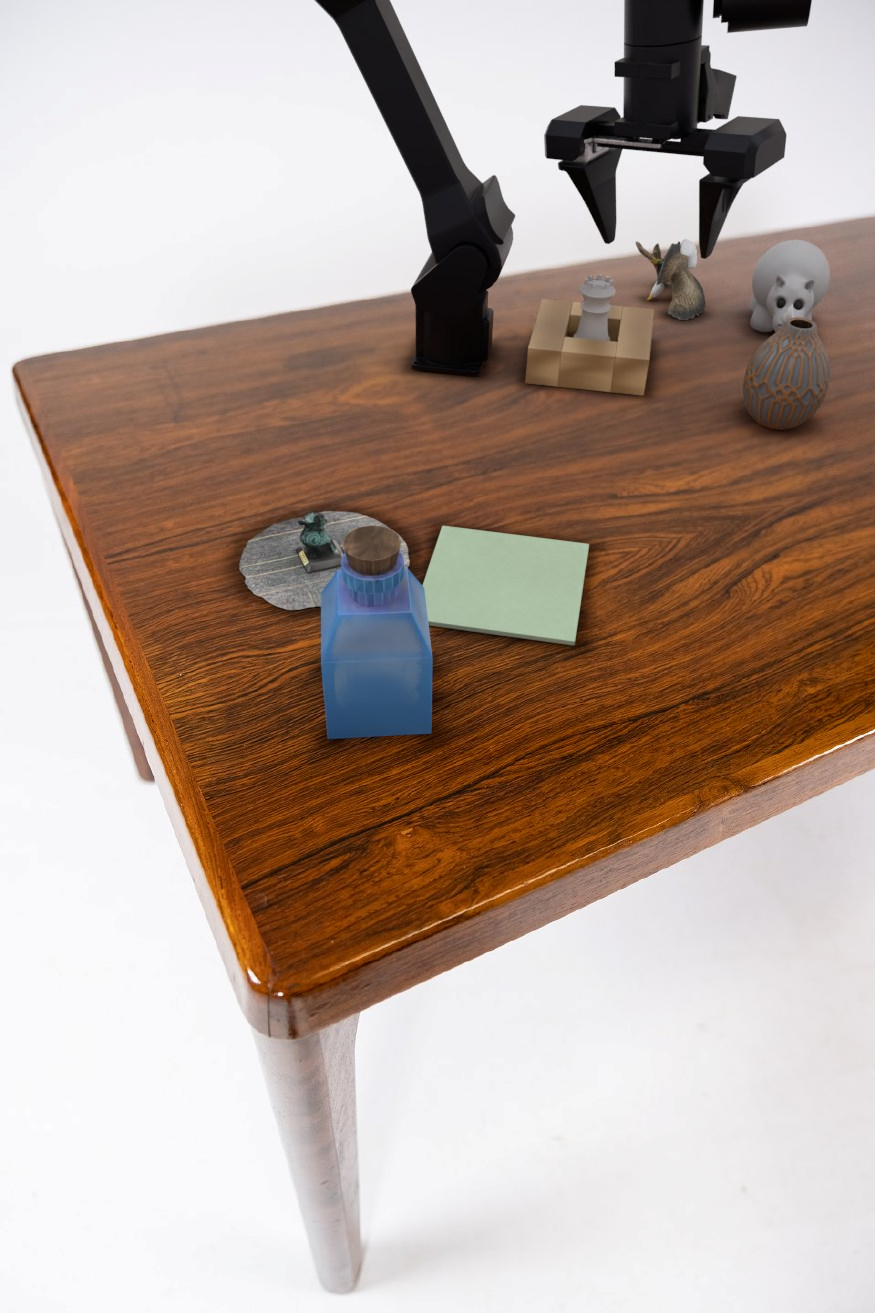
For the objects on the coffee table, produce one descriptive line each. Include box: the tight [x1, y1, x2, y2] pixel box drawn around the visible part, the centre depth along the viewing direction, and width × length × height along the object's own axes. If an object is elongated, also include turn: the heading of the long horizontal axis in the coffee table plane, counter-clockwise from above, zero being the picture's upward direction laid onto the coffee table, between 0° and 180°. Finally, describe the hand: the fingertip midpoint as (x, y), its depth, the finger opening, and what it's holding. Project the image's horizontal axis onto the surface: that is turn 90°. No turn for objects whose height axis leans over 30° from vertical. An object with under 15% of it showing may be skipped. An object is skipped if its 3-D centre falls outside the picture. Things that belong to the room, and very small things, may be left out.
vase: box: [742, 317, 831, 431], centre depth 86 cm, size 7×7×9 cm
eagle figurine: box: [635, 238, 706, 321], centre depth 105 cm, size 8×7×9 cm
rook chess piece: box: [574, 273, 617, 341], centre depth 94 cm, size 4×4×8 cm
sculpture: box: [238, 510, 411, 611], centre depth 73 cm, size 12×9×8 cm
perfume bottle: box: [320, 526, 434, 740], centre depth 59 cm, size 6×6×12 cm
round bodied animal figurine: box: [749, 239, 831, 333], centre depth 98 cm, size 7×12×8 cm, turn 163°
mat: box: [421, 525, 590, 647], centre depth 71 cm, size 11×11×1 cm
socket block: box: [524, 298, 655, 397], centre depth 95 cm, size 11×11×4 cm
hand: (656, 249), depth 86 cm, fingers open, 9 cm apart
